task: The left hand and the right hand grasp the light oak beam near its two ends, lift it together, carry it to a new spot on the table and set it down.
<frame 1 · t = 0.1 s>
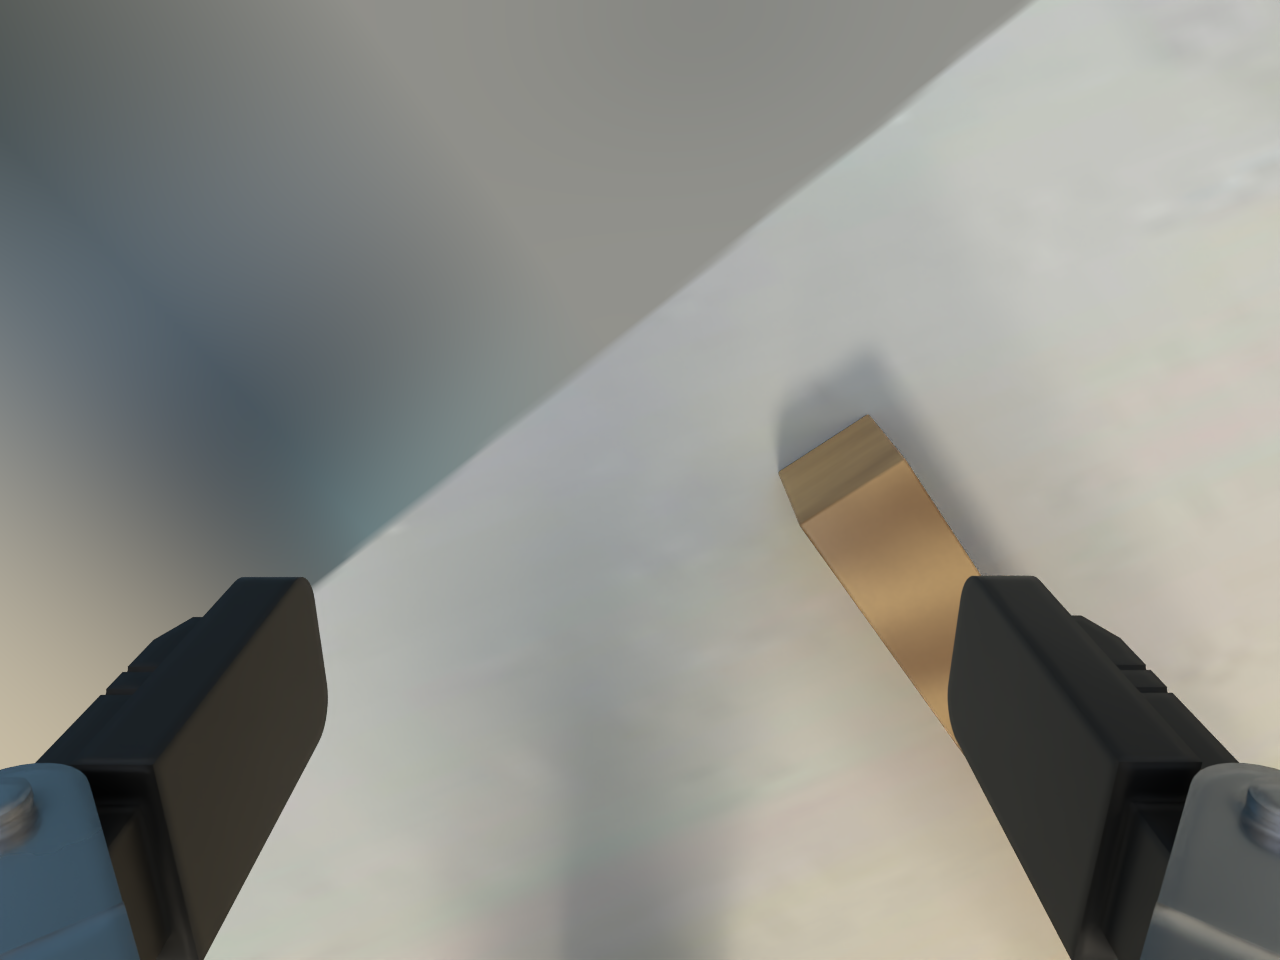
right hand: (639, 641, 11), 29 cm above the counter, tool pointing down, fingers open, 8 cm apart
beam: (1138, 906, 51), on the counter
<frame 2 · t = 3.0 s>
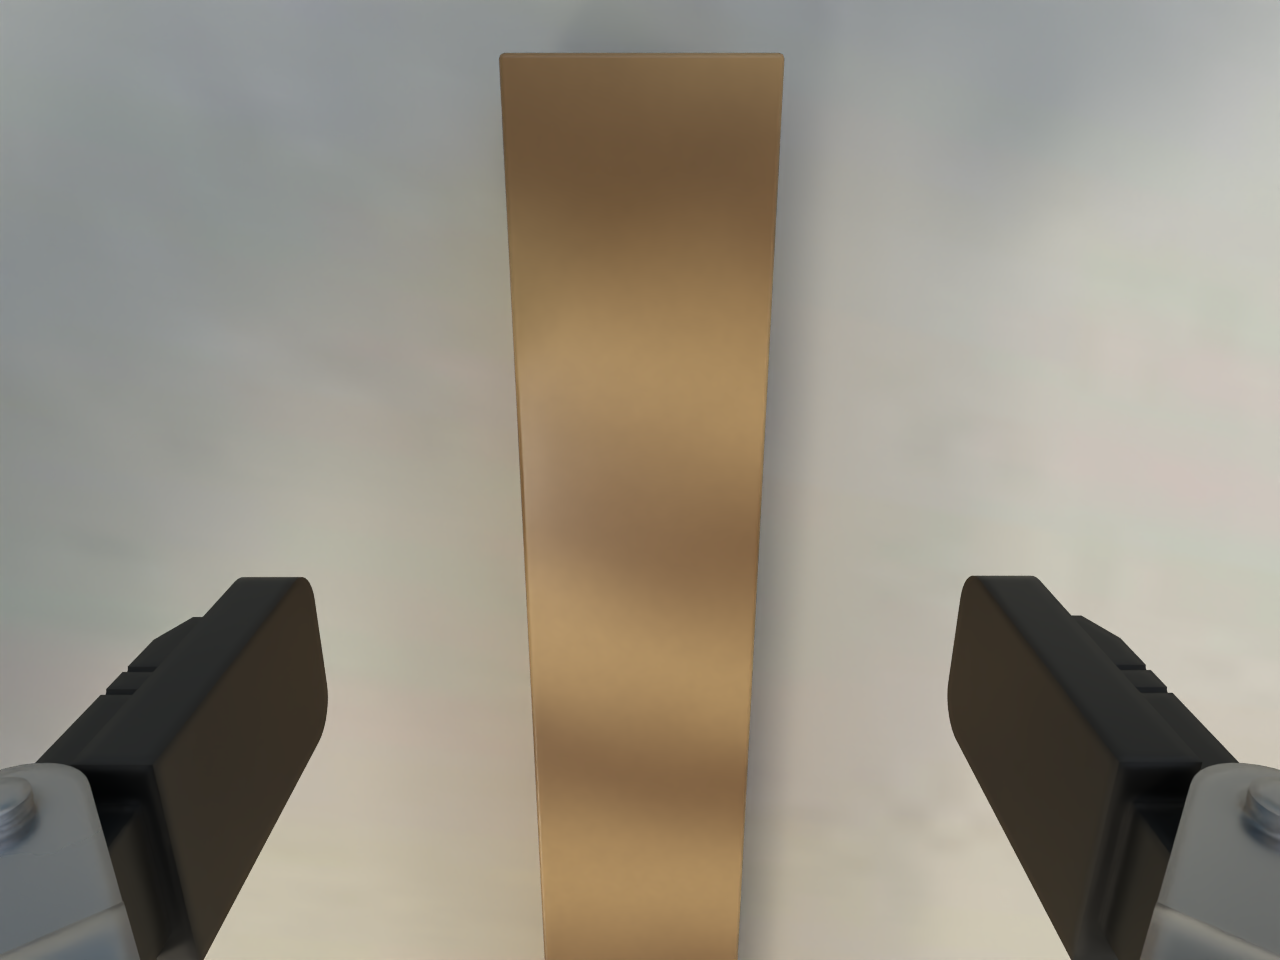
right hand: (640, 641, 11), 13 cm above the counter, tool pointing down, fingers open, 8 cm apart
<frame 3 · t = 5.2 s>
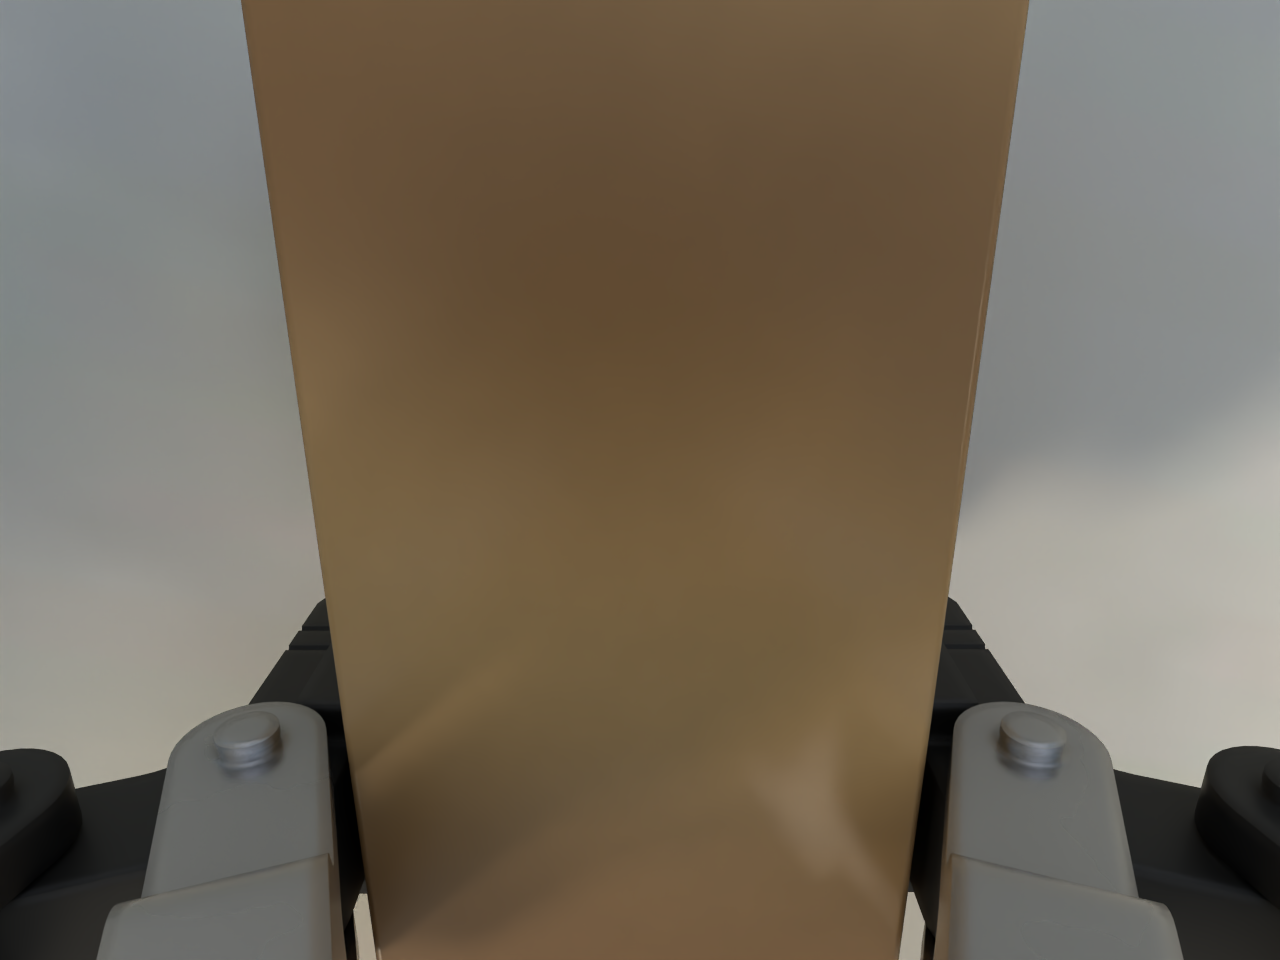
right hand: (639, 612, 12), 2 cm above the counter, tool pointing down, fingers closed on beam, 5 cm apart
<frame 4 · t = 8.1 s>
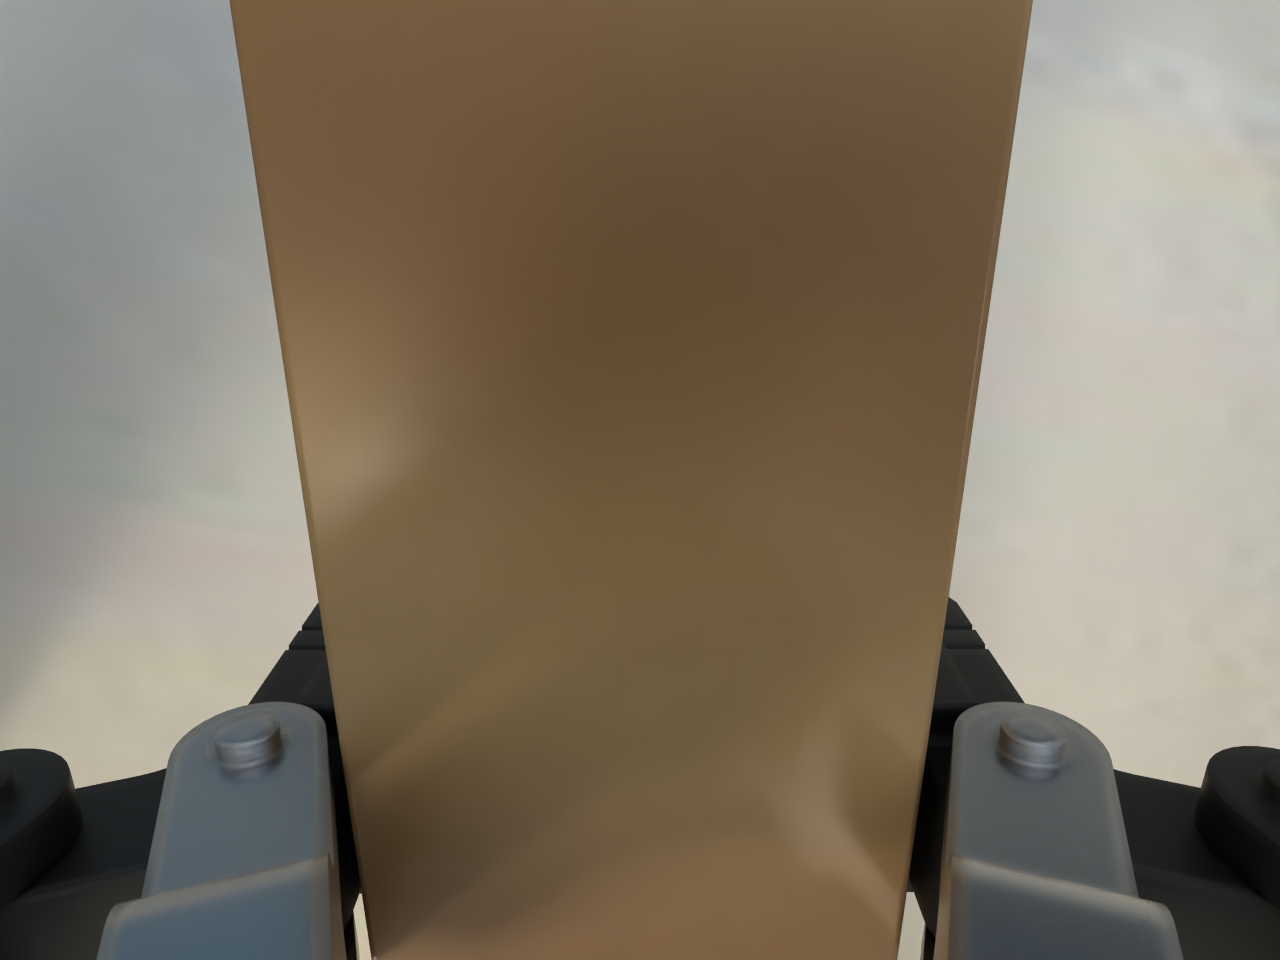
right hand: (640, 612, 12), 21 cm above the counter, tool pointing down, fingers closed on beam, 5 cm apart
when the left hand's fingers open (3 cm above the counter, at t = 13.1 s): beam stays where it is, on the counter.
when the right hand's fingers open (2 cm above the counter, at t = 13.1 s): beam stays where it is, on the counter.
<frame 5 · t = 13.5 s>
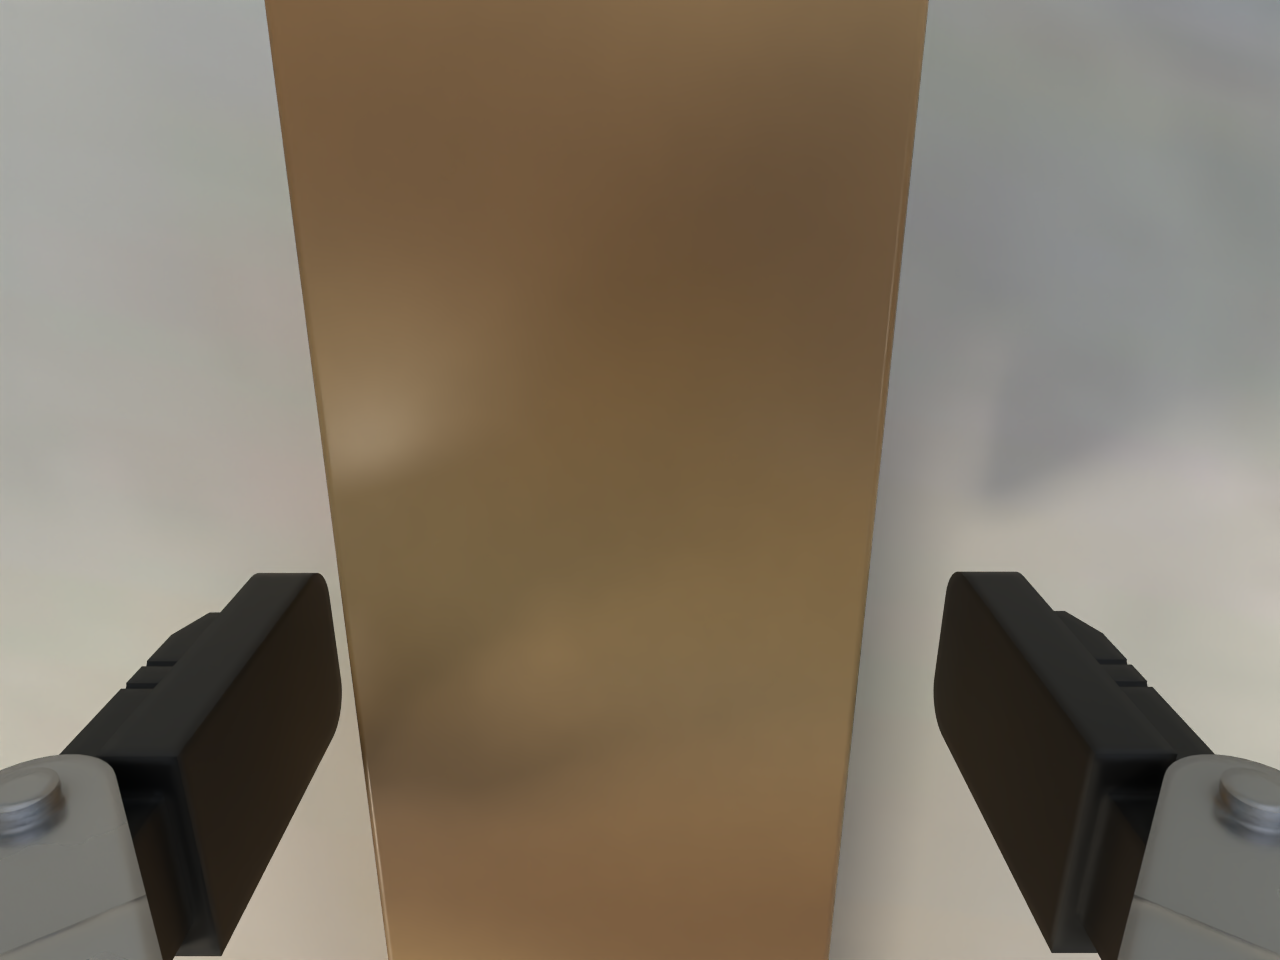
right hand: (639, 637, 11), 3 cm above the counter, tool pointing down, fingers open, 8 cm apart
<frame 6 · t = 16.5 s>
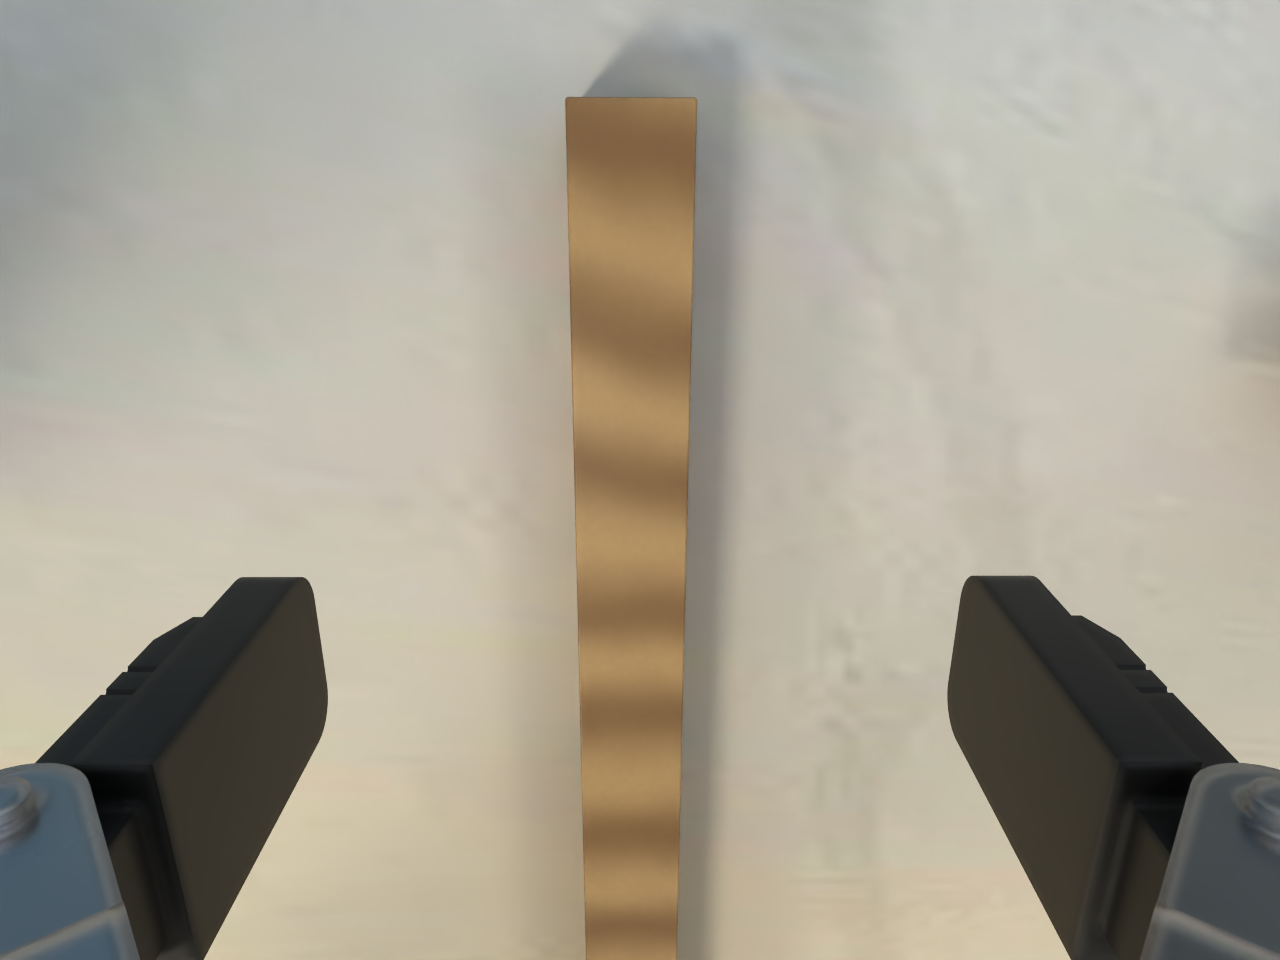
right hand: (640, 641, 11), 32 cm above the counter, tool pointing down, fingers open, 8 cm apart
beam: (632, 759, 51), on the counter
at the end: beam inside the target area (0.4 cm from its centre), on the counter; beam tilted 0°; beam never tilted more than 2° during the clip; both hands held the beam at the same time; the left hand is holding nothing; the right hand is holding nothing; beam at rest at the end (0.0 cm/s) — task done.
